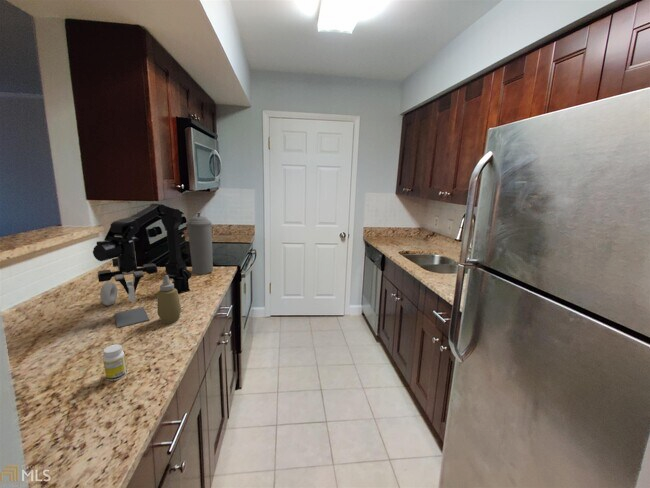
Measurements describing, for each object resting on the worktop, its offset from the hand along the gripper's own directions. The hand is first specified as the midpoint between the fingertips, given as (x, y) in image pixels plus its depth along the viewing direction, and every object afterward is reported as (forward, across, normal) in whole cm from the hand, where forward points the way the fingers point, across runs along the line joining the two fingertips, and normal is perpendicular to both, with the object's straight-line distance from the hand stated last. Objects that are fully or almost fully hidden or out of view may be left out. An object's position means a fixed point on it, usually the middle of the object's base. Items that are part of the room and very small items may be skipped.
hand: (131, 293), depth 114 cm
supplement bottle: (+9, +9, +40) cm, 42 cm away
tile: (+2, 0, 0) cm, 2 cm away
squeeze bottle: (+9, -10, +14) cm, 19 cm away
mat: (+9, +1, +2) cm, 9 cm away
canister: (+10, -38, -40) cm, 56 cm away
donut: (+9, +7, -17) cm, 20 cm away
